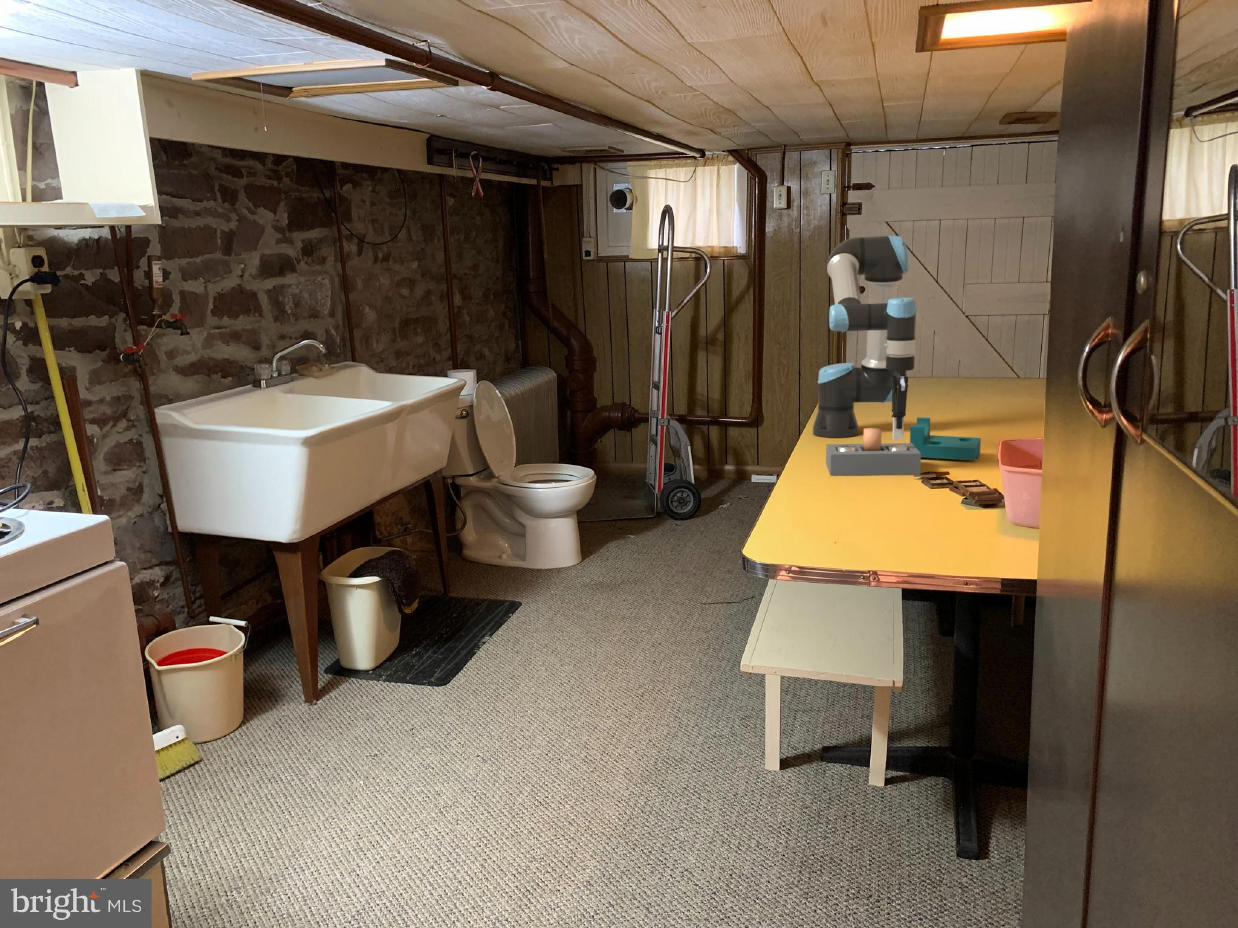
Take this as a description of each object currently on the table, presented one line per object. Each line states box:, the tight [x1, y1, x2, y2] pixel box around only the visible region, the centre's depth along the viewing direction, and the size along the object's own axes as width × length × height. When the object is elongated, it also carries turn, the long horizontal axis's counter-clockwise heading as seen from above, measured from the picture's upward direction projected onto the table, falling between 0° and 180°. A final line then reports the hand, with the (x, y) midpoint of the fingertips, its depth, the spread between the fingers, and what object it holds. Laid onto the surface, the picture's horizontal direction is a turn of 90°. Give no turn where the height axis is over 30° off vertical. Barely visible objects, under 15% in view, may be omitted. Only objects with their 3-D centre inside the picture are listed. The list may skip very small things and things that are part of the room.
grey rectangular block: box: [825, 442, 922, 477], centre depth 265 cm, size 14×24×6 cm, turn 83°
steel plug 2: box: [889, 445, 907, 451], centre depth 264 cm, size 5×5×6 cm
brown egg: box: [862, 427, 882, 451], centre depth 264 cm, size 5×5×6 cm
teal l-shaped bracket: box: [909, 416, 982, 461], centre depth 275 cm, size 18×11×10 cm, turn 62°
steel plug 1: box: [838, 445, 855, 451], centre depth 266 cm, size 5×5×6 cm
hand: (897, 439), depth 263 cm, fingers closed
